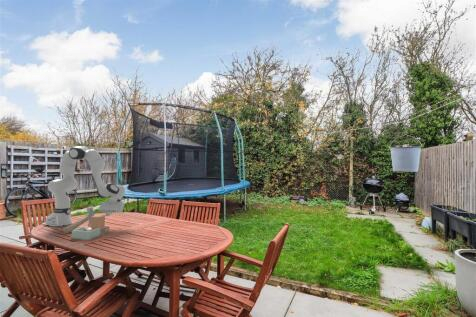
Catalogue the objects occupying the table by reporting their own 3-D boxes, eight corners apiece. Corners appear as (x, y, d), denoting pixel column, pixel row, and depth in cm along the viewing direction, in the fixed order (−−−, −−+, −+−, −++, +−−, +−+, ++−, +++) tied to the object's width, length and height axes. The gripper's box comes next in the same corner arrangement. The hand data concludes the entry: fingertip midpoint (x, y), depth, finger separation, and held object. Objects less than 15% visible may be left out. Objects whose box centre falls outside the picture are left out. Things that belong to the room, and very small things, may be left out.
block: (90, 228, 224) (91, 216, 224) (96, 226, 231) (96, 214, 231) (99, 228, 223) (99, 217, 223) (104, 226, 230) (104, 215, 230)
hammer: (66, 221, 219) (94, 206, 247) (61, 221, 220) (89, 206, 248) (70, 240, 223) (96, 223, 251) (64, 240, 224) (91, 223, 252)
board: (83, 234, 220) (83, 229, 220) (93, 230, 232) (93, 225, 232) (99, 235, 218) (99, 230, 218) (109, 231, 230) (109, 226, 230)
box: (71, 238, 209) (71, 230, 209) (83, 234, 220) (83, 226, 220) (89, 240, 206) (89, 231, 206) (99, 235, 218) (100, 227, 218)
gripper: (101, 199, 247) (93, 213, 237) (123, 200, 243) (116, 214, 234) (104, 203, 251) (97, 217, 241) (126, 204, 248) (119, 218, 238)
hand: (107, 215), depth 238 cm, fingers closed
